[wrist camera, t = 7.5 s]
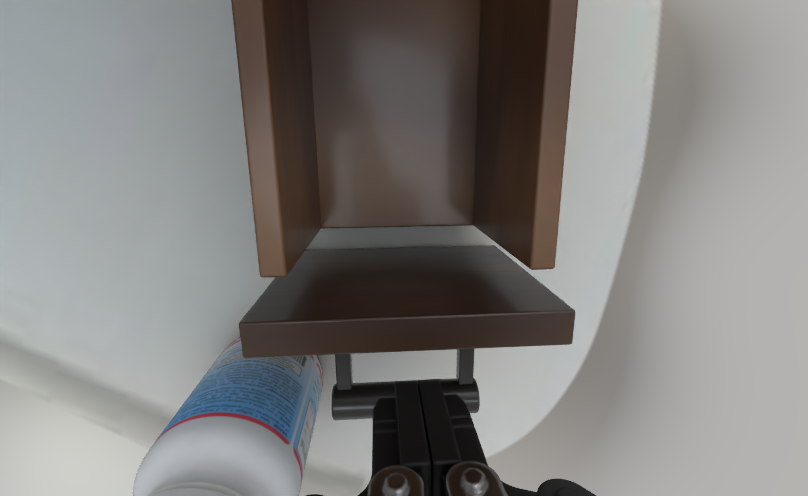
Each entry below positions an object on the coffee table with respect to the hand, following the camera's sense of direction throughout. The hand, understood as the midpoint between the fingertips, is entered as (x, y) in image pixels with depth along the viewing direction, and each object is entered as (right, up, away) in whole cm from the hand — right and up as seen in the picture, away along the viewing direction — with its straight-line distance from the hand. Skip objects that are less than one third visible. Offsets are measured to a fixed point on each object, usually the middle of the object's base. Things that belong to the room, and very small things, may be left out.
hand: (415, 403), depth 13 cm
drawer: (-1, +9, +7) cm, 11 cm away
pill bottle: (-8, -2, +10) cm, 13 cm away
